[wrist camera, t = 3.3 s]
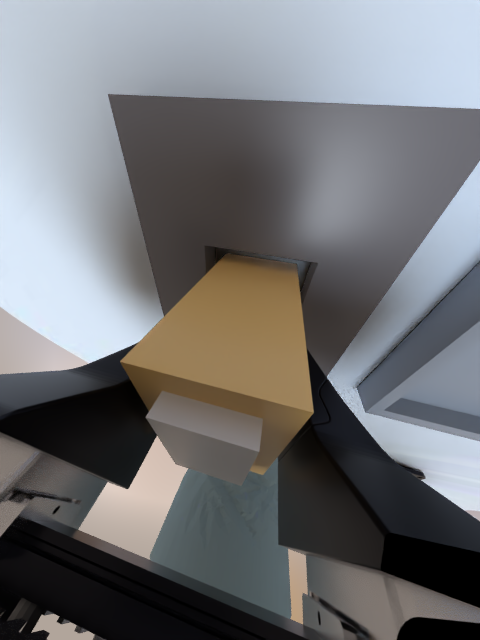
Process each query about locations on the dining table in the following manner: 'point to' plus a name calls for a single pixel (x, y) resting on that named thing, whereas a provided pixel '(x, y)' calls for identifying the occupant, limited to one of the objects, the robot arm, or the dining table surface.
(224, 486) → the grey green pot
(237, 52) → the dining table surface
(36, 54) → the dining table surface
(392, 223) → the grey flat frame
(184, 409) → the block
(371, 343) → the dining table surface
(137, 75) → the dining table surface
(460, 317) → the parts tray
